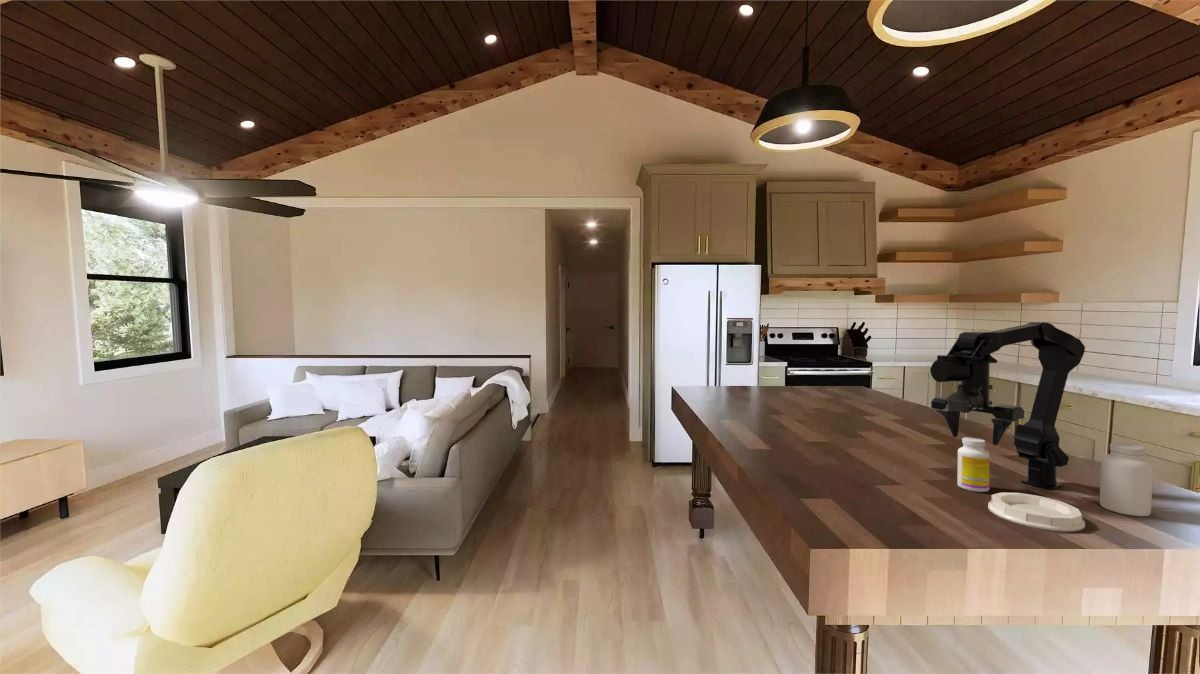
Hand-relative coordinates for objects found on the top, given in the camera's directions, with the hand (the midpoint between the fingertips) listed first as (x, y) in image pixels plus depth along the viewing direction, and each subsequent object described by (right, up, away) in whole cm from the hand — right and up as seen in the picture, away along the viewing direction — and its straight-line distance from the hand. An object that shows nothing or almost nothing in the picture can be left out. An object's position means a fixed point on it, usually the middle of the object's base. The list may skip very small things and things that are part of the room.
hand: (974, 440), depth 124 cm
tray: (0, -13, -17) cm, 21 cm away
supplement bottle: (0, -13, +1) cm, 13 cm away
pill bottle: (+23, -13, -14) cm, 30 cm away
